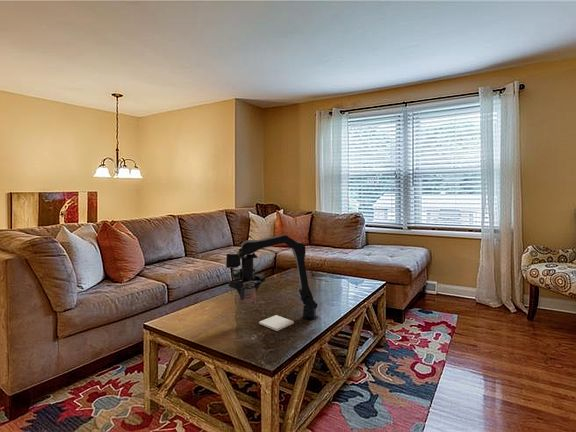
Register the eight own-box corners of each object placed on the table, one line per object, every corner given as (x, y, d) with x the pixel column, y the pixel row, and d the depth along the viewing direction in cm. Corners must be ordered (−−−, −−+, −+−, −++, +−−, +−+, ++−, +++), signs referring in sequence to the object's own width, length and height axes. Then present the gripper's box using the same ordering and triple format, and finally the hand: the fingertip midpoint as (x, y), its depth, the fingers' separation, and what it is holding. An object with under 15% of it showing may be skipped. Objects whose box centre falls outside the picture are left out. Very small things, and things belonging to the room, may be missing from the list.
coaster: (276, 316, 177) (276, 315, 177) (293, 323, 169) (293, 321, 169) (259, 323, 168) (259, 321, 168) (276, 331, 160) (276, 328, 160)
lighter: (239, 305, 166) (239, 285, 165) (238, 302, 169) (238, 283, 168) (256, 303, 168) (256, 283, 167) (255, 301, 171) (255, 281, 170)
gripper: (250, 261, 179) (250, 290, 180) (221, 267, 165) (221, 299, 167) (265, 264, 171) (265, 295, 173) (236, 271, 158) (236, 304, 159)
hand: (247, 298), depth 168 cm, fingers closed on lighter, 7 cm apart
